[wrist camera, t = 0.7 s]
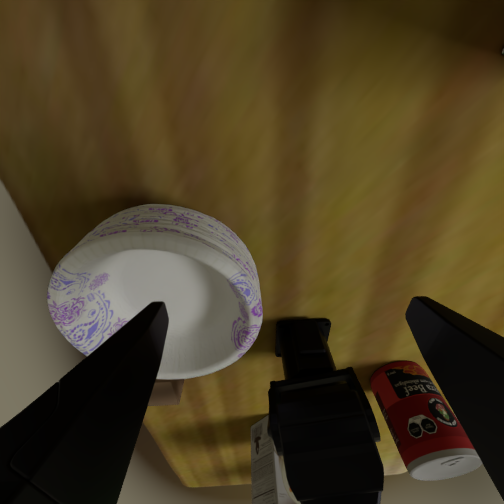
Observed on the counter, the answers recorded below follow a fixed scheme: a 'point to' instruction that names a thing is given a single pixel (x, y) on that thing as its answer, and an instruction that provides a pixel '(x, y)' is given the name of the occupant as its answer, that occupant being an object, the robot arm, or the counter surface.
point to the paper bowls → (161, 287)
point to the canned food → (422, 423)
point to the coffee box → (268, 469)
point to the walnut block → (166, 392)
